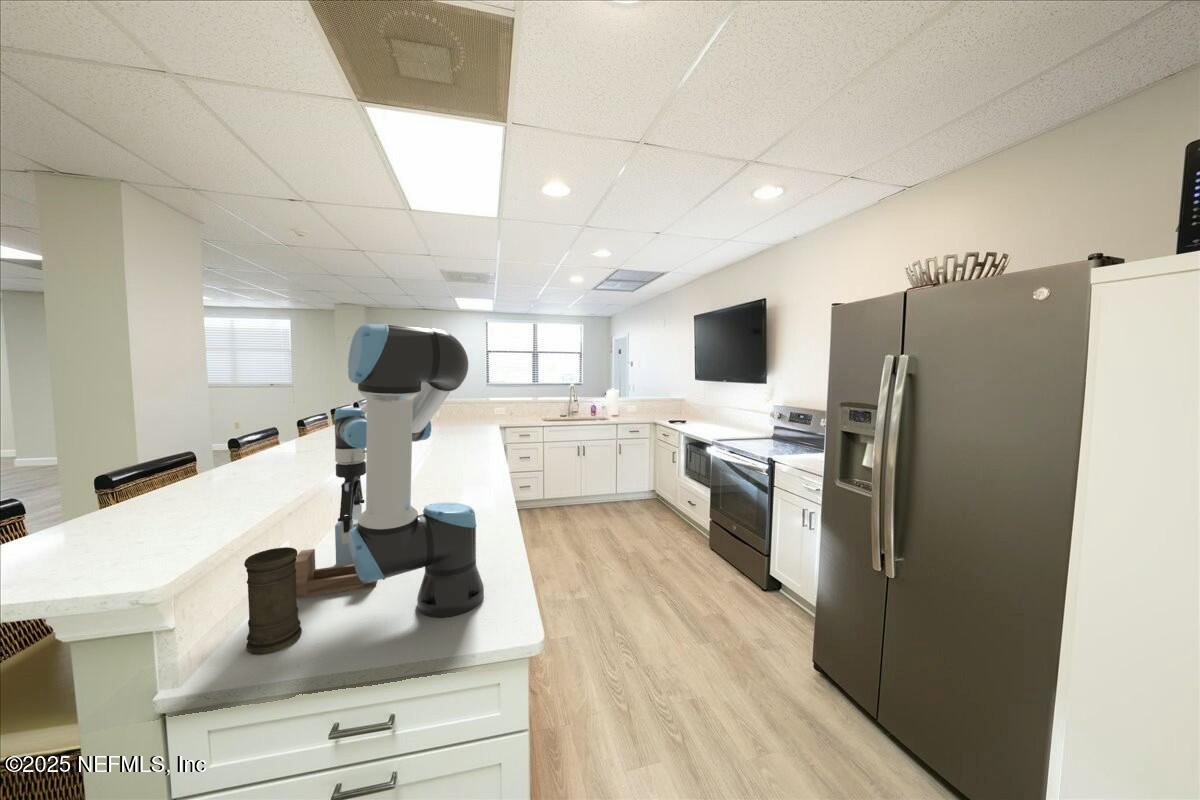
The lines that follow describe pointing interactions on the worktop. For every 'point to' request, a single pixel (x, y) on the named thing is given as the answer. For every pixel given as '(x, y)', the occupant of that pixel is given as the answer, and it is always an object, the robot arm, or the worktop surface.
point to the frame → (324, 577)
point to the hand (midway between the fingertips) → (352, 533)
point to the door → (342, 546)
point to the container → (272, 601)
